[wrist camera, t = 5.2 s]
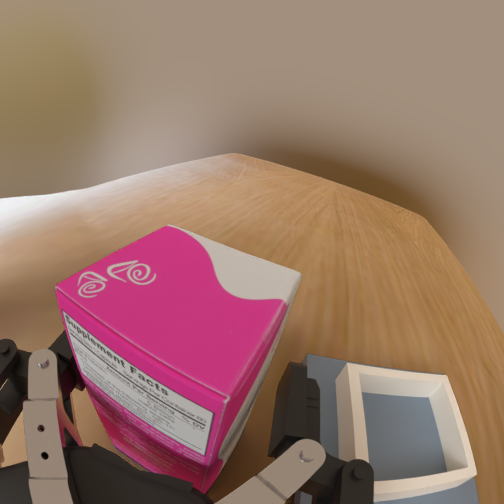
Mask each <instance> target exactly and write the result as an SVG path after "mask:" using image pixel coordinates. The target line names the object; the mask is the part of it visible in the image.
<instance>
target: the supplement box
mask: <svg viewBox="0 0 504 504" xmlns="http://www.w3.org/2000/svg"><path fill="white" fill-rule="evenodd" d="M301 278H302V274H301V273H299V272H298V271H295V270H292V269H290V268H287V267H284V266H281V265H278V264H275V263H272V262H270V261H267V260H264V259H261V258H258V257H255V256H252V255H250V254H247V253H244V252H241V251H239V250H236V249H233V248H231V247H228V246H225V245H223V244H220V243H218V242H215V241H212V240H210V239H207V238H205V237H202V236H200V235H197V234H195V233H192V232H190V231H187V230H185V229H182V228H179V227H177V226H174V225H171V224H169V225H166V226H165V227H163V228H161V229H159V230H157V231H155V232H153V233H151V234H149V235H147V236H145V237H143V238H141V239H139V240H137V241H135V242H133V243H131V244H130V245H128V246H126V247H124V248H122V249H120V250H118V251H116V252H114V253H112V254H110V255H109V256H107V257H105V258H103V259H101V260H99V261H98V262H96V263H94V264H92V265H91V266H89V267H87V268H85V269H83V270H81V271H80V272H78V273H76V274H74V275H72V276H71V277H69V278H67V279H65V280H64V281H62V282H60V283H58V284H57V285H56V286H55V291H56V296H57V300H58V305H59V309H60V312H61V316H62V320H63V323H64V327H65V330H66V333H67V337H68V340H69V343H70V346H71V349H72V352H73V355H74V358H75V360H76V363H77V366H78V369H79V371H80V374H81V376H82V379H83V381H84V384H85V386H86V389H87V391H88V393H89V395H90V398H91V400H92V402H93V404H94V407H95V409H96V411H97V413H98V415H99V417H100V419H101V422H102V423H103V425H104V427H105V429H106V431H107V433H108V435H109V437H110V439H111V441H112V443H113V445H114V446H115V447H116V448H117V449H119V450H120V451H121V452H123V453H124V454H126V455H127V456H128V457H130V458H131V459H133V460H134V461H135V462H137V463H138V464H140V465H141V466H143V467H144V468H146V469H147V470H149V471H150V472H152V473H158V474H166V475H170V476H173V477H176V478H179V479H182V480H186V481H189V482H192V483H193V487H194V488H196V489H197V490H199V491H201V492H202V493H204V494H206V493H207V492H208V490H209V489H210V487H211V486H212V484H213V483H214V481H215V480H216V478H217V477H218V475H219V473H220V472H221V470H222V469H223V467H224V465H225V464H226V462H227V460H228V459H229V457H230V455H231V453H232V452H233V450H234V448H235V446H236V444H237V442H238V440H239V439H240V437H241V435H242V433H243V431H244V428H245V425H246V422H247V420H248V417H249V415H250V413H251V411H252V408H253V406H254V403H255V401H256V398H257V396H258V393H259V391H260V388H261V386H262V383H263V381H264V379H265V376H266V373H267V371H268V368H269V366H270V363H271V361H272V358H273V356H274V353H275V350H276V348H277V345H278V342H279V340H280V337H281V334H282V332H283V329H284V326H285V324H286V321H287V318H288V315H289V312H290V310H291V307H292V304H293V301H294V298H295V295H296V292H297V289H298V287H299V284H300V281H301Z"/></svg>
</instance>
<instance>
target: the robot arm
mask: <svg viewBox="0 0 504 504" xmlns="http://www.w3.org/2000/svg"><path fill="white" fill-rule="evenodd" d="M6 379H7V382H6V383H5V384H4V382H5V381H6ZM3 384H4V386H3V387H2V385H3ZM1 387H2V389H1V390H0V504H214V503H213V502H212V501H211V500H210V499H209V498H208V497H207V496H206V495H205V494H204V493H202V492H201V491H199V490H197V489H196V488H194V487H193V483H192V482H189V481H186V480H182V479H179V478H176V477H173V476H170V475H166V474H158V473H151V472H145V471H140V470H138V469H136V468H135V467H133V466H132V465H130V464H129V463H128V462H126V461H125V460H124V459H122V458H121V457H120V456H118V455H117V454H115V453H113V452H111V451H109V450H107V449H105V448H103V447H101V446H99V445H97V444H95V443H94V444H93V446H92V447H86V446H83V443H82V440H81V437H80V435H79V432H78V429H77V424H76V418H75V412H74V405H73V398H72V393H71V392H72V391H73V389H74V388H77V389H78V390H80V391H83V390H84V388H85V384H84V381H83V379H82V376H81V374H80V371H79V369H78V366H77V363H76V360H75V358H74V355H73V352H72V349H71V346H70V343H69V340H68V337H67V333H66V330H64V331H63V333H62V334H61V335H60V336H59V337H58V338H57V339H56V341H55V342H54V343H53V344H52V345H51V346H50V347H49V348H48V349H39V350H36V351H35V352H33V353H30V352H26V351H22V350H19V349H18V348H17V346H16V344H15V343H14V341H12V340H10V339H2V340H0V388H1ZM22 410H23V417H24V432H25V443H26V451H27V459H28V461H25V462H22V463H18V464H14V465H11V466H7V467H3V468H2V467H1V463H3V462H4V455H3V449H2V445H3V443H4V441H5V439H6V437H7V435H8V434H9V432H10V430H11V428H12V426H13V425H14V423H15V421H16V420H17V418H18V416H19V415H20V413H21V411H22ZM268 456H269V457H275V460H274V462H273V463H271V464H270V465H269V466H268V467H266V468H265V469H264V470H263V471H261V472H260V473H259V474H257V475H255V476H254V477H252V478H251V479H249V480H248V481H247V482H245V483H244V484H243V485H241V486H240V487H238V488H237V489H236V490H234V491H233V492H231V493H230V494H228V495H227V496H225V497H224V498H222V499H221V500H219V501H218V502H216V503H215V504H284V503H285V502H286V501H287V499H288V498H289V497H290V496H291V495H292V494H293V493H294V492H296V491H297V490H299V491H301V492H304V493H306V494H309V495H312V502H311V504H374V471H373V468H372V466H371V465H370V464H369V463H368V462H367V461H365V460H362V459H353V460H351V461H349V462H346V461H344V460H341V459H339V458H336V457H333V456H331V455H330V454H328V453H327V452H326V451H325V450H324V448H323V447H322V445H321V441H320V388H319V386H318V384H317V381H316V379H312V378H307V365H303V364H298V363H294V362H289V364H288V366H287V368H286V370H285V372H284V374H283V376H282V378H281V380H280V382H279V385H278V388H277V392H276V400H275V408H274V416H273V423H272V431H271V438H270V445H269V452H268Z"/></svg>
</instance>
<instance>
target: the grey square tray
mask: <svg viewBox="0 0 504 504" xmlns="http://www.w3.org/2000/svg"><path fill="white" fill-rule="evenodd" d="M303 365H307V378H312V379H316V381H317V384H318V386H319V388H320V441H321V445H322V447H323V448H324V450H325V451H326V452H327V453H328V454H330V455H331V456H333V457H336V458H339V459H341V460H344V461H346V462H349V461H351V460H353V459H362V460H365V461H367V462H368V463H369V464H370V465H371V466H372V468H373V471H374V504H479V500H478V494H477V488H476V483H475V478H474V476H475V475H477V471H476V467H475V462H474V458H473V454H472V450H471V447H470V443H469V439H468V436H467V432H466V429H465V426H464V423H463V419H462V416H461V413H460V410H459V407H458V404H457V402H456V399H455V396H454V393H453V391H452V388H451V385H450V383H449V380H448V377H447V375H443V374H438V373H428V372H418V371H410V370H402V369H394V368H387V367H380V366H373V365H367V364H361V363H355V362H349V361H344V360H338V359H333V358H328V357H323V356H318V355H313V354H308V353H307V355H306V356H305V358H304V360H303ZM311 502H312V495H309V494H306V493H304V492H301V491H299V490H297V491H296V492H295V497H294V504H311Z"/></svg>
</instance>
